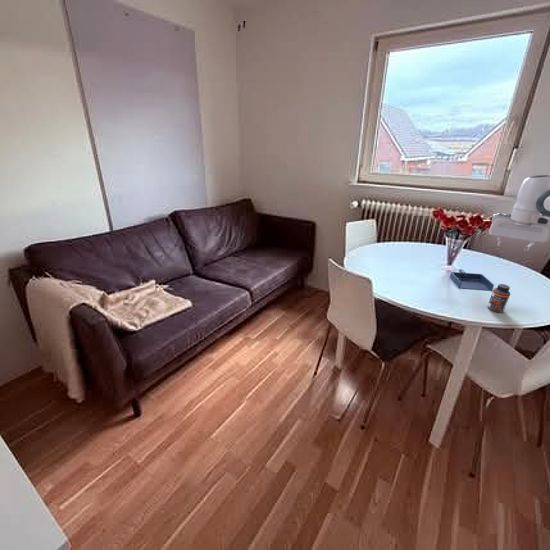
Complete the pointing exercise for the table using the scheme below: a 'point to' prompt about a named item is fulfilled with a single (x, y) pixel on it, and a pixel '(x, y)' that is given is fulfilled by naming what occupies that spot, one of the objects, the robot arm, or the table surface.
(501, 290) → the supplement bottle
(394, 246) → the table surface
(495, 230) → the robot arm
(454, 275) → the blue tray
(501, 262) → the table surface
